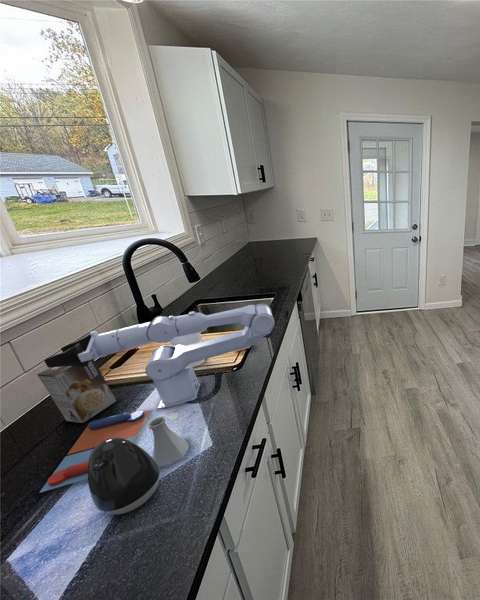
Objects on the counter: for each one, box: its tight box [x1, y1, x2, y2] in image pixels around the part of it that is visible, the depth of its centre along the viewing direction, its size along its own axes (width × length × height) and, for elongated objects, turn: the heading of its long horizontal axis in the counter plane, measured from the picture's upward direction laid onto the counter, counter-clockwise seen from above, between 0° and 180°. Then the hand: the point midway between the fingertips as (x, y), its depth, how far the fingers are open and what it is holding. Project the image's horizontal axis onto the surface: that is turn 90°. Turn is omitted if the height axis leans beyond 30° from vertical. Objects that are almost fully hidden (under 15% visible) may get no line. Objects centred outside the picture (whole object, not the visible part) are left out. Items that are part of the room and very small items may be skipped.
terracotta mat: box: [66, 410, 150, 456], centre depth 82 cm, size 14×10×1 cm
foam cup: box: [168, 332, 206, 368], centre depth 108 cm, size 10×9×13 cm
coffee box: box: [36, 358, 117, 424], centre depth 86 cm, size 9×6×16 cm
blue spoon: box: [87, 410, 144, 430], centre depth 84 cm, size 12×4×2 cm, turn 112°
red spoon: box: [46, 461, 88, 486], centre depth 70 cm, size 12×4×2 cm, turn 112°
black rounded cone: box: [87, 437, 161, 515], centre depth 61 cm, size 10×10×15 cm
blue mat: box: [38, 436, 137, 494], centre depth 72 cm, size 14×10×1 cm
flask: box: [147, 416, 190, 468], centre depth 72 cm, size 7×7×10 cm
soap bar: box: [234, 346, 252, 352], centre depth 120 cm, size 5×9×2 cm, turn 29°
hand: (55, 357), depth 77 cm, fingers open, 7 cm apart
